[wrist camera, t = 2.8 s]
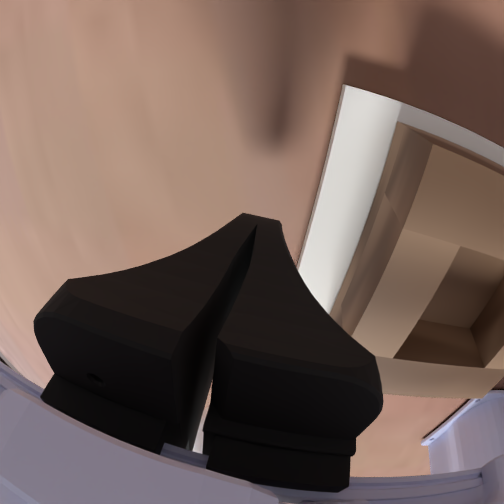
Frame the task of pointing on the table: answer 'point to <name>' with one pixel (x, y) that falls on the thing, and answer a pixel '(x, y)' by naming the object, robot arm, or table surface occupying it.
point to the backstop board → (362, 181)
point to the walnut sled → (431, 271)
